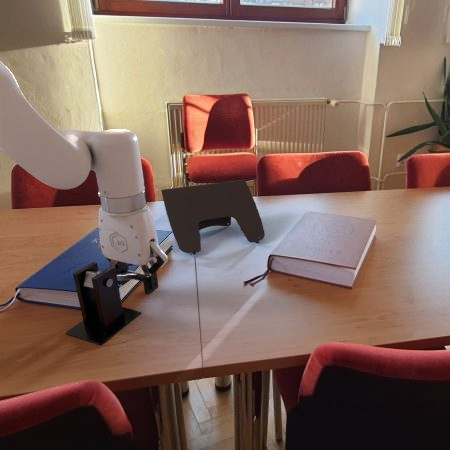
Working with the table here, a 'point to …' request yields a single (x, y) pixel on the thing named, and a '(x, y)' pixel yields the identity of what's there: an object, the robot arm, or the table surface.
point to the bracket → (100, 306)
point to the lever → (123, 276)
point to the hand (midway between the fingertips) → (137, 286)
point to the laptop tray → (211, 211)
